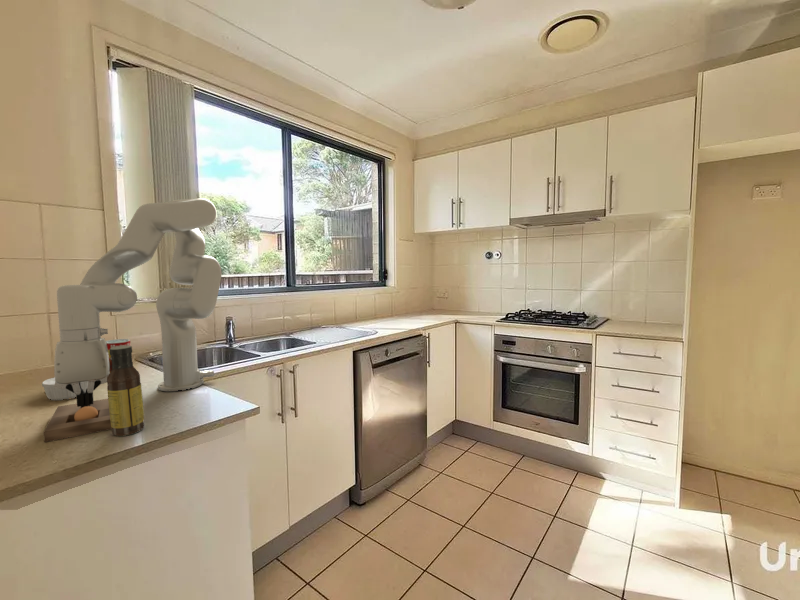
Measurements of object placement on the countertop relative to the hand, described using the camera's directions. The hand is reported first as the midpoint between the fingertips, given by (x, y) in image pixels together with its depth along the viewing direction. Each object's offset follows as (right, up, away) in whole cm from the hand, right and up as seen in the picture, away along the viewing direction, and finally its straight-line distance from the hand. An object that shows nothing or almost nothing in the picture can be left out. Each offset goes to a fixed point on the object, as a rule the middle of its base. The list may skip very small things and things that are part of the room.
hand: (85, 408), depth 90 cm
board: (+2, -3, -1) cm, 4 cm away
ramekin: (-20, -2, +18) cm, 27 cm away
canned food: (-23, 0, +41) cm, 47 cm away
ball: (+3, -1, -3) cm, 4 cm away
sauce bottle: (+15, -4, -6) cm, 17 cm away
